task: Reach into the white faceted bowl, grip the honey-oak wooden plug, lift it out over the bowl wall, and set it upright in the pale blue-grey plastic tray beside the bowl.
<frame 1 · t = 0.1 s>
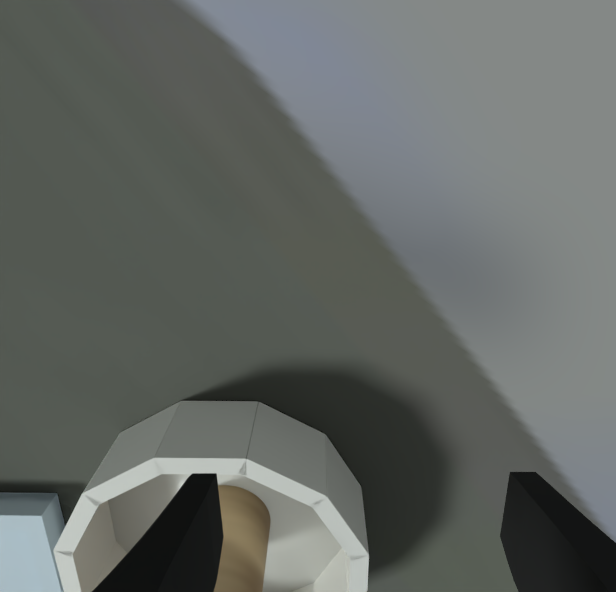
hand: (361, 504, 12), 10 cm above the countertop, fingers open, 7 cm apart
white faceted bowl: (229, 513, 25), on the countertop
oak plug: (227, 519, 25), resting on white faceted bowl
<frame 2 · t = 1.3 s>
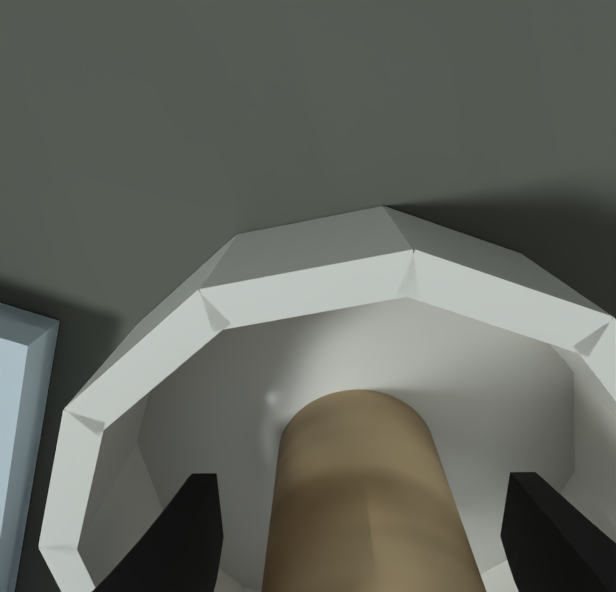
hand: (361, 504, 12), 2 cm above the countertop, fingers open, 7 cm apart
white faceted bowl: (354, 447, 14), on the countertop
oak plug: (355, 456, 14), resting on white faceted bowl
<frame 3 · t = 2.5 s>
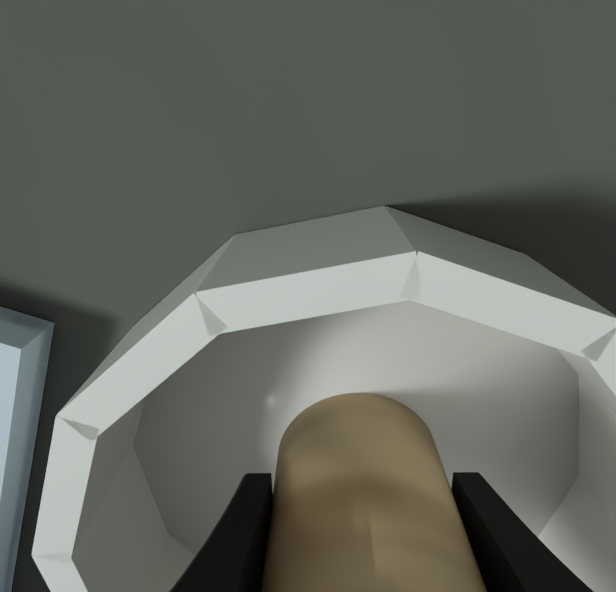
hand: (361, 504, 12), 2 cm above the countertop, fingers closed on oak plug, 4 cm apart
white faceted bowl: (355, 451, 14), on the countertop
oak plug: (356, 461, 13), resting on white faceted bowl, touching gripper
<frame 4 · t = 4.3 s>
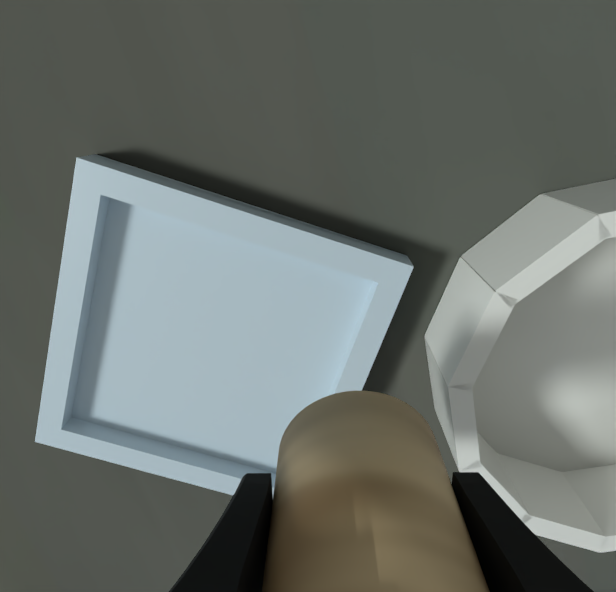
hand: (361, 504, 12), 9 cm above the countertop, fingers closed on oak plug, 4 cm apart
white faceted bowl: (592, 345, 20), on the countertop
blue-grey tray: (216, 344, 21), on the countertop
oak plug: (357, 459, 13), point 7 cm above the countertop, touching gripper
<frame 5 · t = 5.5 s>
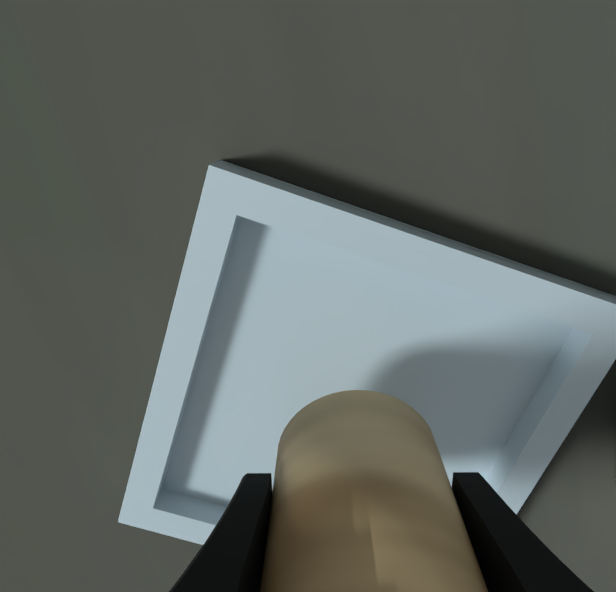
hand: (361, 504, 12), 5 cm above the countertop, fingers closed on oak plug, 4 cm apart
blue-grey tray: (350, 401, 16), on the countertop
oak plug: (356, 458, 13), point 3 cm above the countertop, touching gripper
when the fingers open (4 cm above the countertop, at t = 6.5 s): oak plug drops 1 cm, resting on blue-grey tray.
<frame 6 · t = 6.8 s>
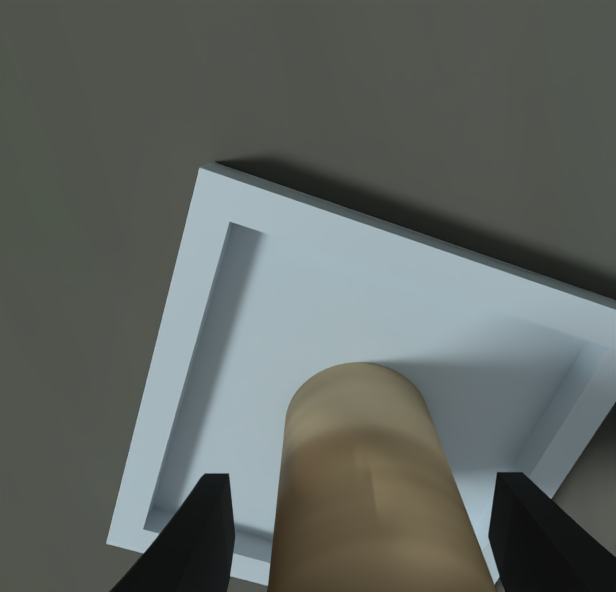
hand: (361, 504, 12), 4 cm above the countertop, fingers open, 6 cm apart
blue-grey tray: (351, 416, 15), on the countertop
oak plug: (356, 426, 15), point 1 cm above the countertop, touching blue-grey tray
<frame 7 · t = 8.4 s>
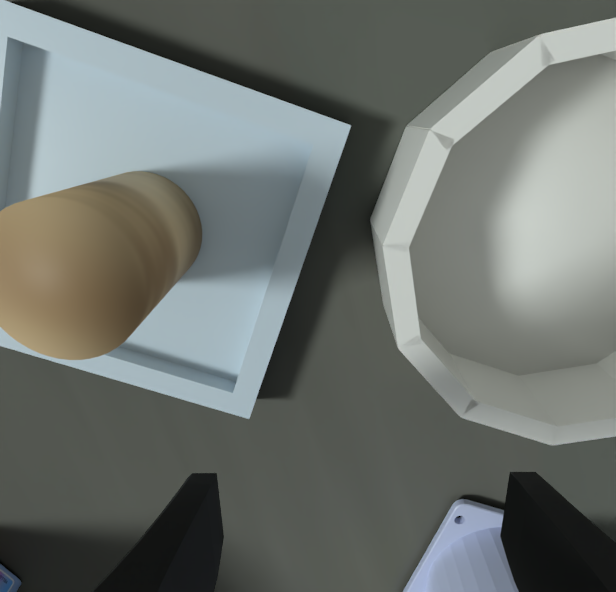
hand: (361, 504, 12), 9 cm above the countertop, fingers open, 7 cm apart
white faceted bowl: (549, 231, 19), on the countertop
blue-grey tray: (147, 228, 19), on the countertop
oak plug: (145, 229, 19), point 1 cm above the countertop, touching blue-grey tray
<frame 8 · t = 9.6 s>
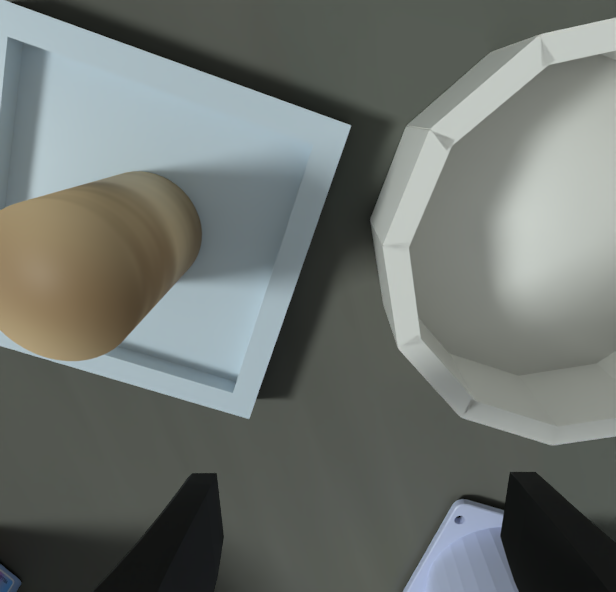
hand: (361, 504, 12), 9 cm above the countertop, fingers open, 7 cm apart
white faceted bowl: (549, 231, 19), on the countertop
blue-grey tray: (147, 228, 19), on the countertop
oak plug: (145, 229, 19), point 1 cm above the countertop, touching blue-grey tray
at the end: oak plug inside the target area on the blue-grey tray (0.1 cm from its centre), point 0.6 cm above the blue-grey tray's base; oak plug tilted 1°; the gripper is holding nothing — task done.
